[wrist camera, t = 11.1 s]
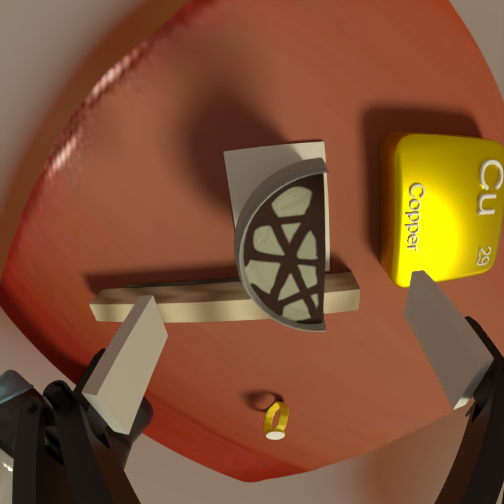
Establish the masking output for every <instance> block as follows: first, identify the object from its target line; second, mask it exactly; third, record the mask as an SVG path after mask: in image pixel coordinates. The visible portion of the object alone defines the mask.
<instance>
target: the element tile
mask: <svg viewBox="0 0 504 504" xmlns="http://www.w3.org/2000/svg"><path fill="white" fill-rule="evenodd" d="M379 168H380V247H379V260H380V263H381V265H382V267H383V269H384V270H385V272H386V273H387V274H388V276H389V277H390V279H391V280H392V282H393V283H394V284H395V285H396V286H397V287H400V288H409V285H410V279H411V272H412V271H418V270H425V271H426V273H427V274H428V275H429V276H430V277H431V278H432V279H433V280H434V282H435V283H440V282H445V281H450V280H455V279H460V278H465V277H469V276H474V275H479V274H483V273H485V272H486V271H487V270H489V269H490V268H491V267H492V265H493V263H494V261H495V258H496V255H497V250H498V245H499V240H500V234H501V228H502V221H503V214H504V147H503V146H502V145H501V144H500V143H499V142H497V141H495V140H490V139H485V138H480V137H473V136H464V135H454V134H442V133H426V132H392V133H390V134H388V135H386V136H385V137H384V138H383V139H382V141H381V144H380V147H379Z"/></svg>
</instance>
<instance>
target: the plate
mask: <svg viewBox="0 0 504 504" xmlns="http://www.w3.org/2000/svg"><path fill="white" fill-rule="evenodd" d="M320 157H322V158H323V160H324V162H325V163H326V160H325V148H324V142H308V143H294V144H282V145H272V146H263V147H254V148H246V149H238V150H231V151H224V159H225V165H226V172H227V178H228V185H229V191H230V198H231V204H232V210H233V217H234V223H235V228H236V224H237V221H238V217H239V215H240V213H241V211H242V208H243V206H244V204H245V202H246V201H247V200H248V198H249V197H250V195H251V194H252V193H253V191H254V190H255V189H256V188H257V187H258V186H259V185H260V184H261V183H262V182H263V181H264V180H265V179H267V178H268V177H269V176H271V175H272V174H274V173H275V172H277V171H278V170H280V169H282V168H284V167H286V166H288V165H290V164H293V163H296V162H299V161H303V160H306V159H312V158H320ZM324 192H325V243H326V265H325V271H330V245H329V210H328V189H327V173H324Z"/></svg>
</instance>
